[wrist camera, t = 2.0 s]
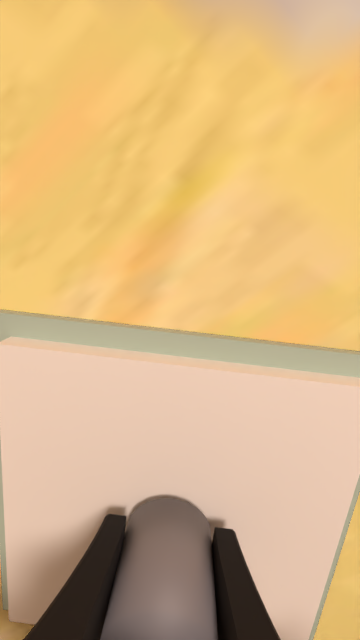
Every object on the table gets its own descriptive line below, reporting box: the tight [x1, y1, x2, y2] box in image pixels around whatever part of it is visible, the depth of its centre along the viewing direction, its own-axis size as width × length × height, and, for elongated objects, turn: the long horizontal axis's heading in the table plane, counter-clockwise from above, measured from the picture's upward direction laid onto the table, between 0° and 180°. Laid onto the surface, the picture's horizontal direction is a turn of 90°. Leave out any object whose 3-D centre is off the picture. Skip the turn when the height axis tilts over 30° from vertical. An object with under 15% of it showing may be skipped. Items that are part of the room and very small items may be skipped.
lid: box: [0, 336, 360, 640], centre depth 9 cm, size 12×12×4 cm
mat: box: [0, 310, 360, 640], centre depth 12 cm, size 14×14×1 cm
